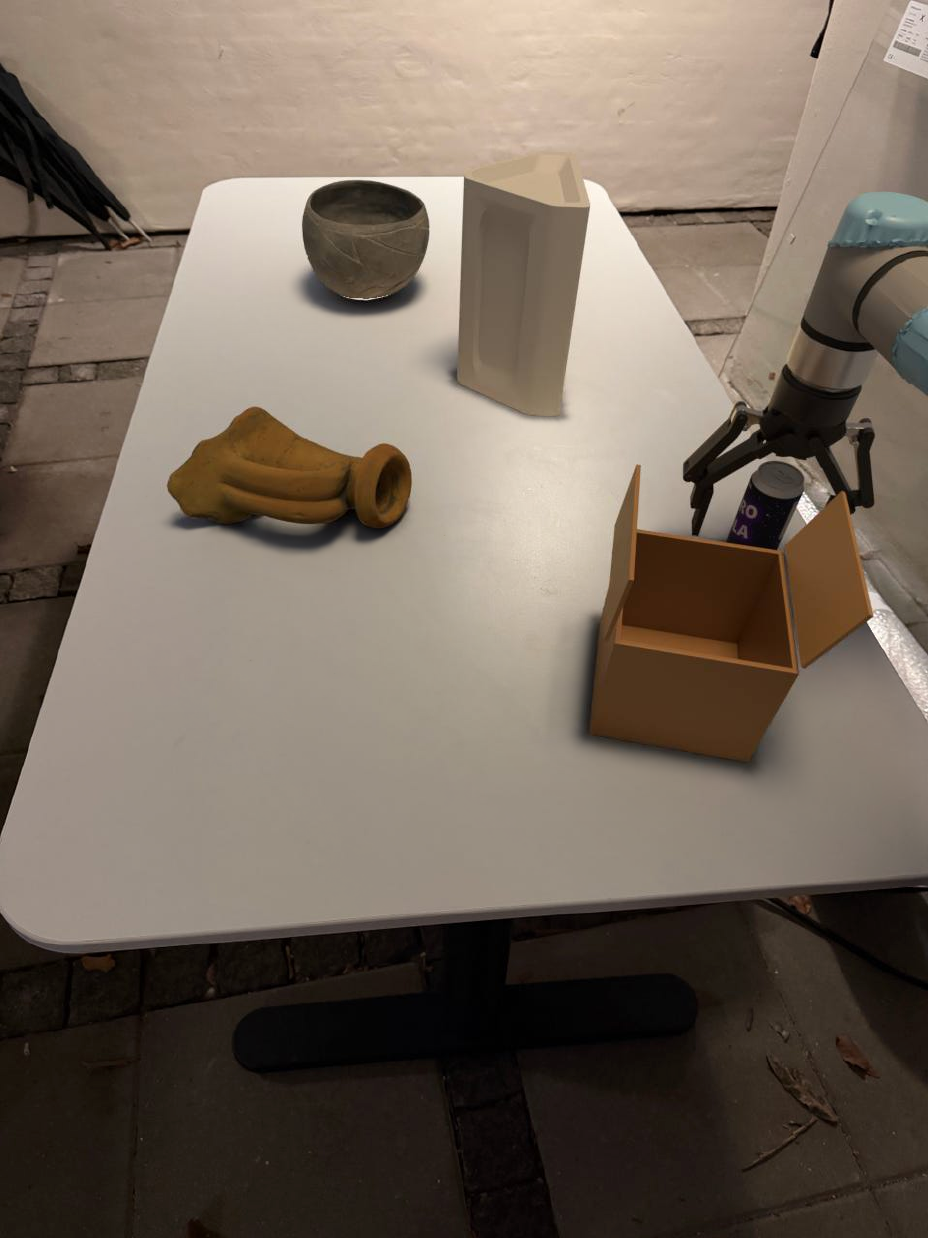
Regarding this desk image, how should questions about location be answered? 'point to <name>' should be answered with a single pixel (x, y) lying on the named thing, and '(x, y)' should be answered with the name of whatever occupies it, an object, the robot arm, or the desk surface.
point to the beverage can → (767, 505)
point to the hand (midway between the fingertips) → (753, 537)
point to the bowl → (365, 237)
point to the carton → (691, 641)
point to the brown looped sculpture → (288, 477)
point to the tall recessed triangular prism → (520, 277)
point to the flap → (826, 581)
